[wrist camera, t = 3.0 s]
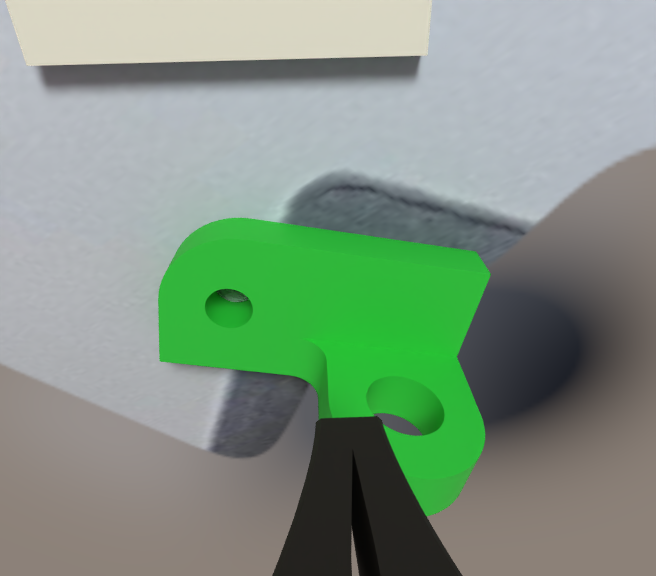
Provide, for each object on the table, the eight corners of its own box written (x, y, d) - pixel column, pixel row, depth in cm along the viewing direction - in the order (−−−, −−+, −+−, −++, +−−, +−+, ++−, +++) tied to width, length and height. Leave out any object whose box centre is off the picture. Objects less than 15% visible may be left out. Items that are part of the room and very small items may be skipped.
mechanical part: (474, 249, 19) (567, 390, 12) (431, 361, 22) (486, 523, 15) (171, 204, 17) (83, 337, 11) (172, 331, 20) (103, 496, 14)
